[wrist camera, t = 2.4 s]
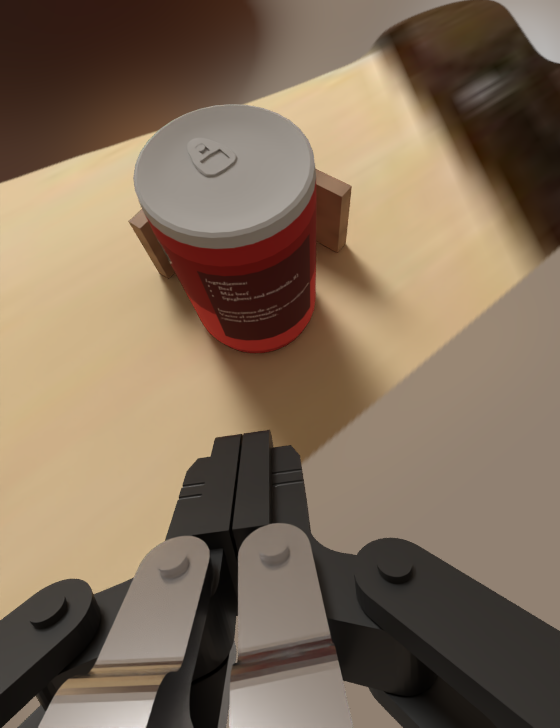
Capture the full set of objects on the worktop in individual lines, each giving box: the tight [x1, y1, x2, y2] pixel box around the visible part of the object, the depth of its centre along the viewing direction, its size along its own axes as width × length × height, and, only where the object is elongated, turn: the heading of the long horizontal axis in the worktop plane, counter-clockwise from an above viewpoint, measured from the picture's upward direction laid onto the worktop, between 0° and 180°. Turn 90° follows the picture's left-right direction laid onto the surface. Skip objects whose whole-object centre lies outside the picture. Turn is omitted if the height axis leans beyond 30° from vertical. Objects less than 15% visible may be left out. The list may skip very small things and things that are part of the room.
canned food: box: [134, 104, 317, 353], centre depth 22 cm, size 8×8×11 cm
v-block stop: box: [129, 169, 352, 279], centre depth 27 cm, size 13×7×5 cm, turn 97°
